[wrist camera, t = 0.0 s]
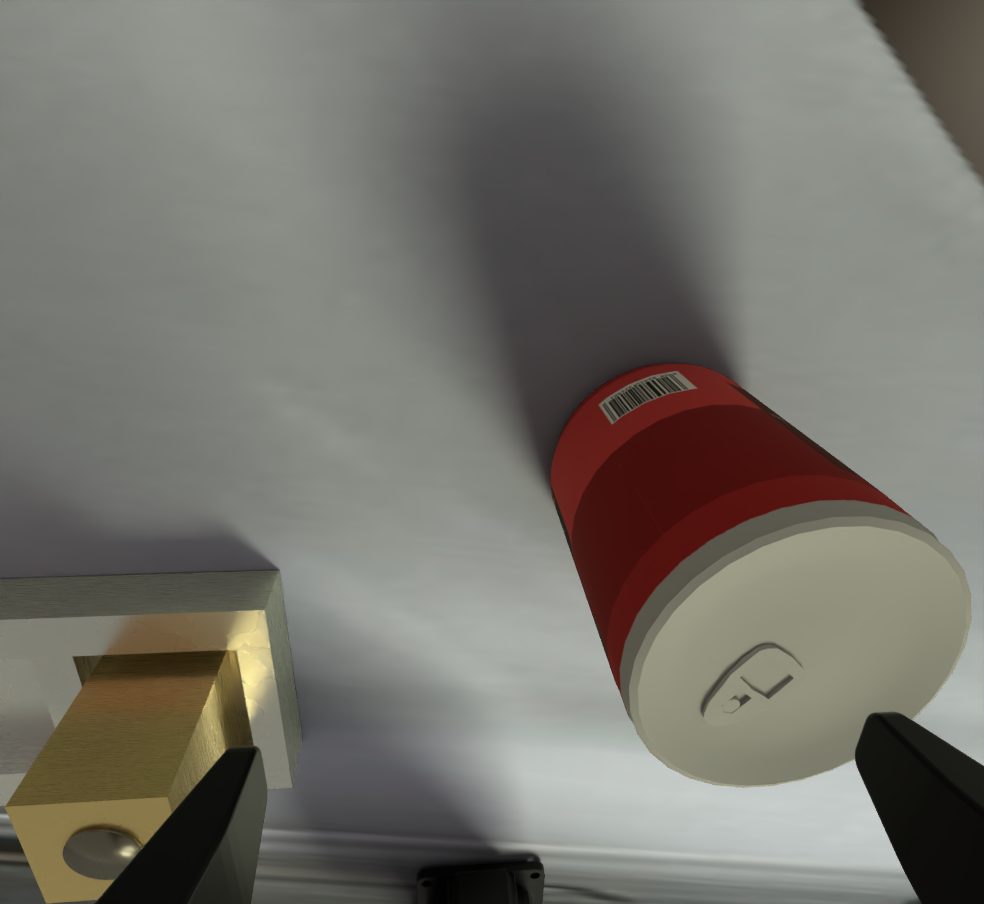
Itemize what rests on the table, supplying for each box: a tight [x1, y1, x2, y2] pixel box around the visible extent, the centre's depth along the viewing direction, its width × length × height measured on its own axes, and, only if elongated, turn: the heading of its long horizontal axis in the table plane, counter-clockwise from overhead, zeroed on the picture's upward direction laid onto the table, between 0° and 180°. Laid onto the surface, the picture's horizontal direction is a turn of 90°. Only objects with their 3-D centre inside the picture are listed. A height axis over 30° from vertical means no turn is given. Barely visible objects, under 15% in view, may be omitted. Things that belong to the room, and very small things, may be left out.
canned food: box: [550, 364, 971, 788], centre depth 19 cm, size 8×8×11 cm
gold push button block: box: [5, 650, 249, 903], centre depth 23 cm, size 4×4×7 cm
